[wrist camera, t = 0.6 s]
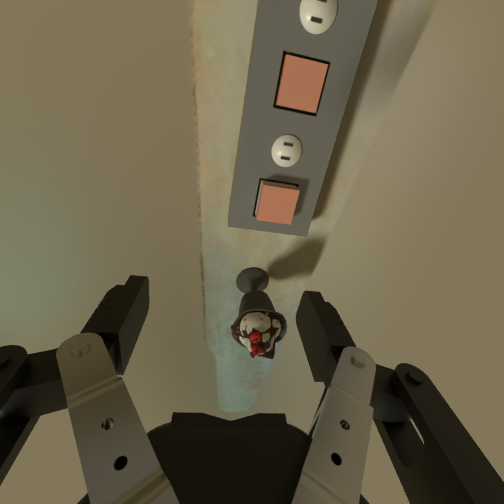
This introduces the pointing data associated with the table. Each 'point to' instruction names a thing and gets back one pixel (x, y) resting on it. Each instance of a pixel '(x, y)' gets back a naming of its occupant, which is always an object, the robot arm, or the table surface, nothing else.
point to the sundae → (257, 316)
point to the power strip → (288, 120)
